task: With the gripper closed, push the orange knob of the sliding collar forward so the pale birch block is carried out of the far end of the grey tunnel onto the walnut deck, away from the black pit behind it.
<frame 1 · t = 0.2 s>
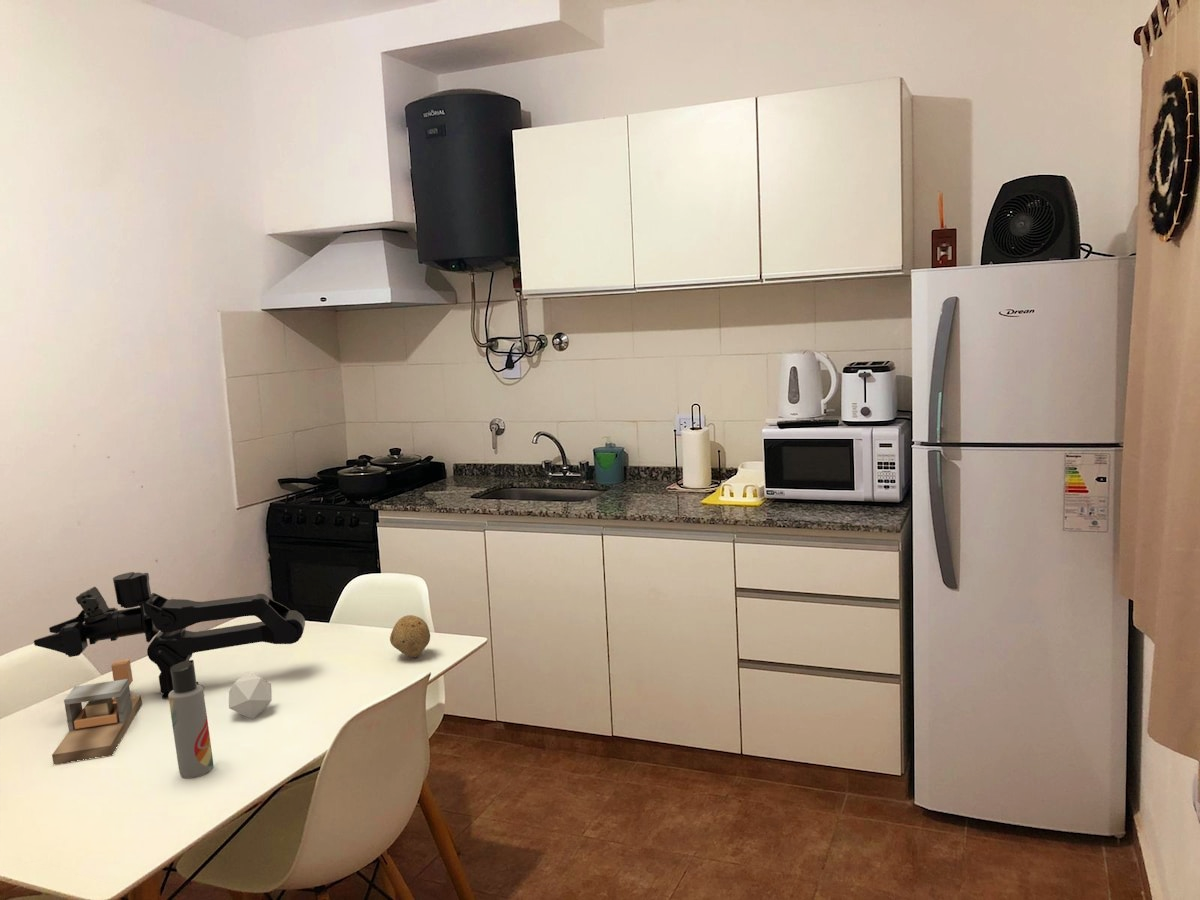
hand: (42, 636, 199), 16 cm above the table, tool horizontal, fingers open, 9 cm apart
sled: (109, 691, 197), point 5 cm above the table, slide at 0.0 cm
lotion bottle: (197, 771, 169), on the table
birch block: (101, 719, 189), point 2 cm above the table, touching tunnel
brown round lump: (412, 657, 218), on the table
tunnel: (103, 729, 189), on the table
die: (252, 714, 192), on the table
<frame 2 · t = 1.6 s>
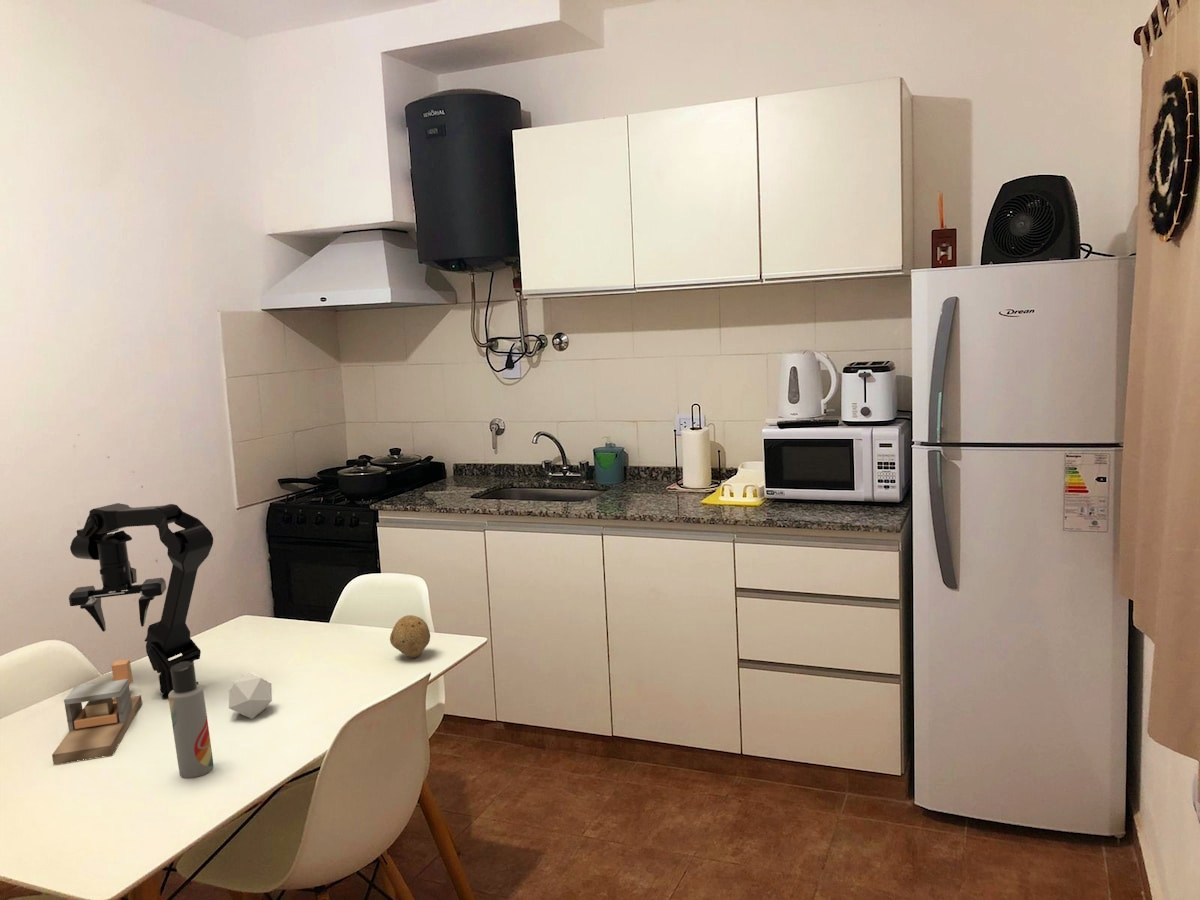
hand: (123, 628, 211), 13 cm above the table, tool pointing down, fingers open, 8 cm apart
nothing on the table moved.
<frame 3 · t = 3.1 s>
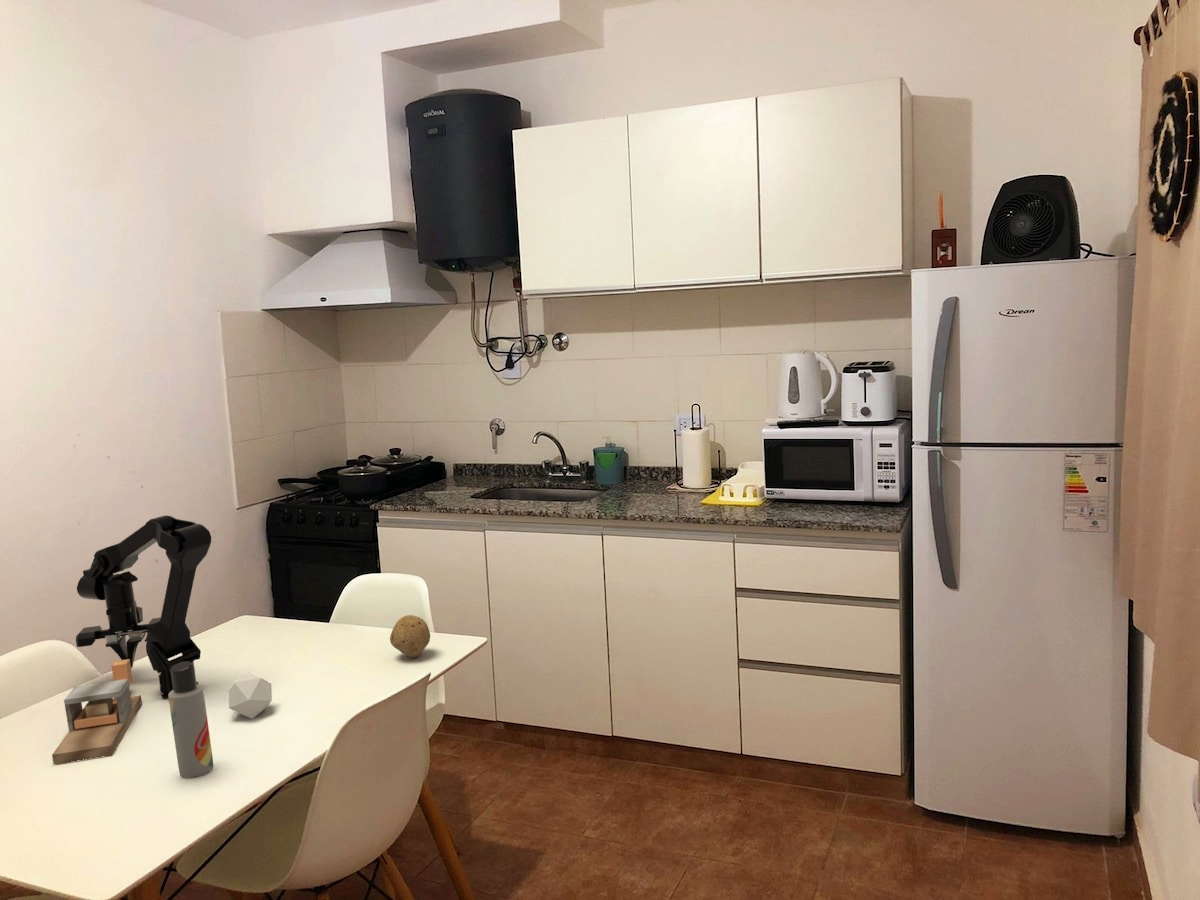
hand: (130, 667, 213), 4 cm above the table, tool pointing down, fingers closed
nothing on the table moved.
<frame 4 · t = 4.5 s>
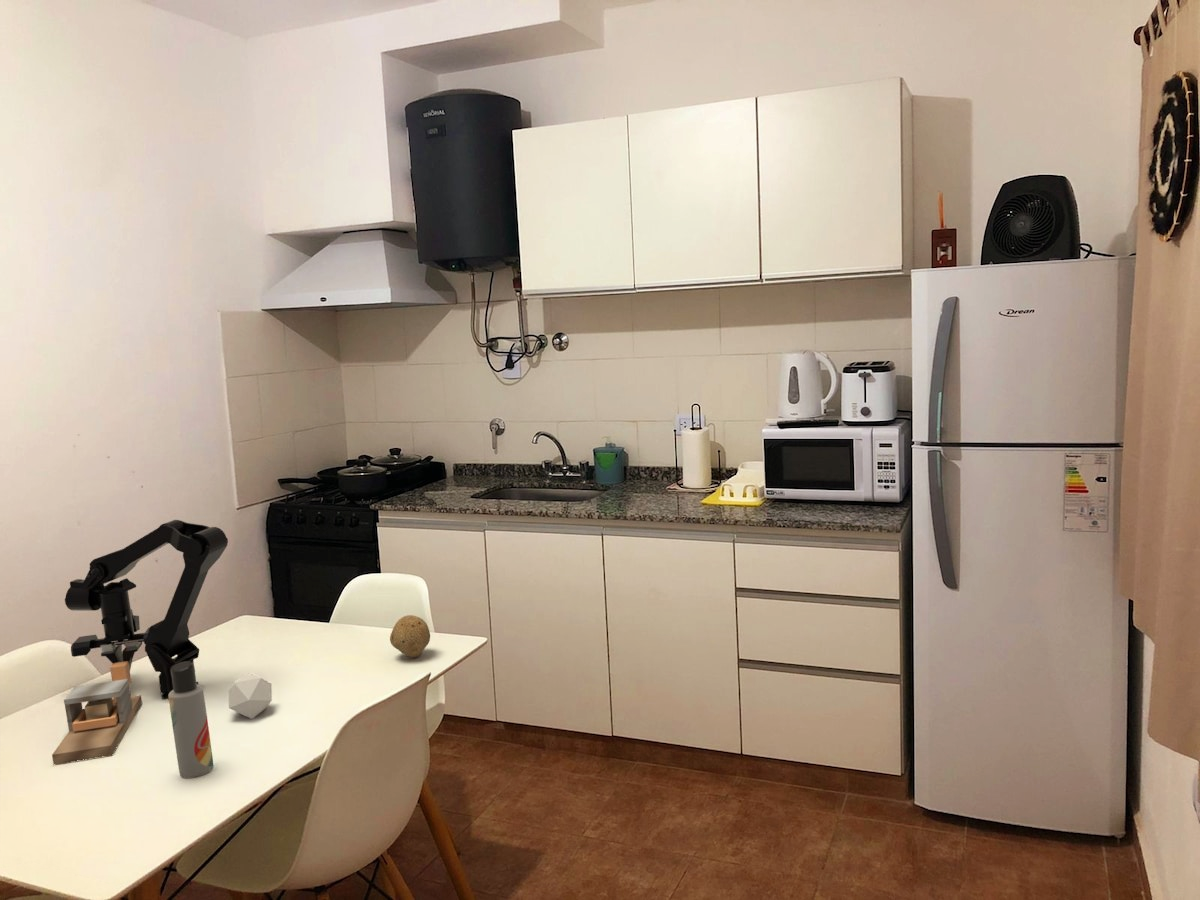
hand: (126, 677, 209), 3 cm above the table, tool pointing down, fingers closed
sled: (108, 693, 195), point 5 cm above the table, slide at 1.2 cm, touching gripper
everything else where it was.
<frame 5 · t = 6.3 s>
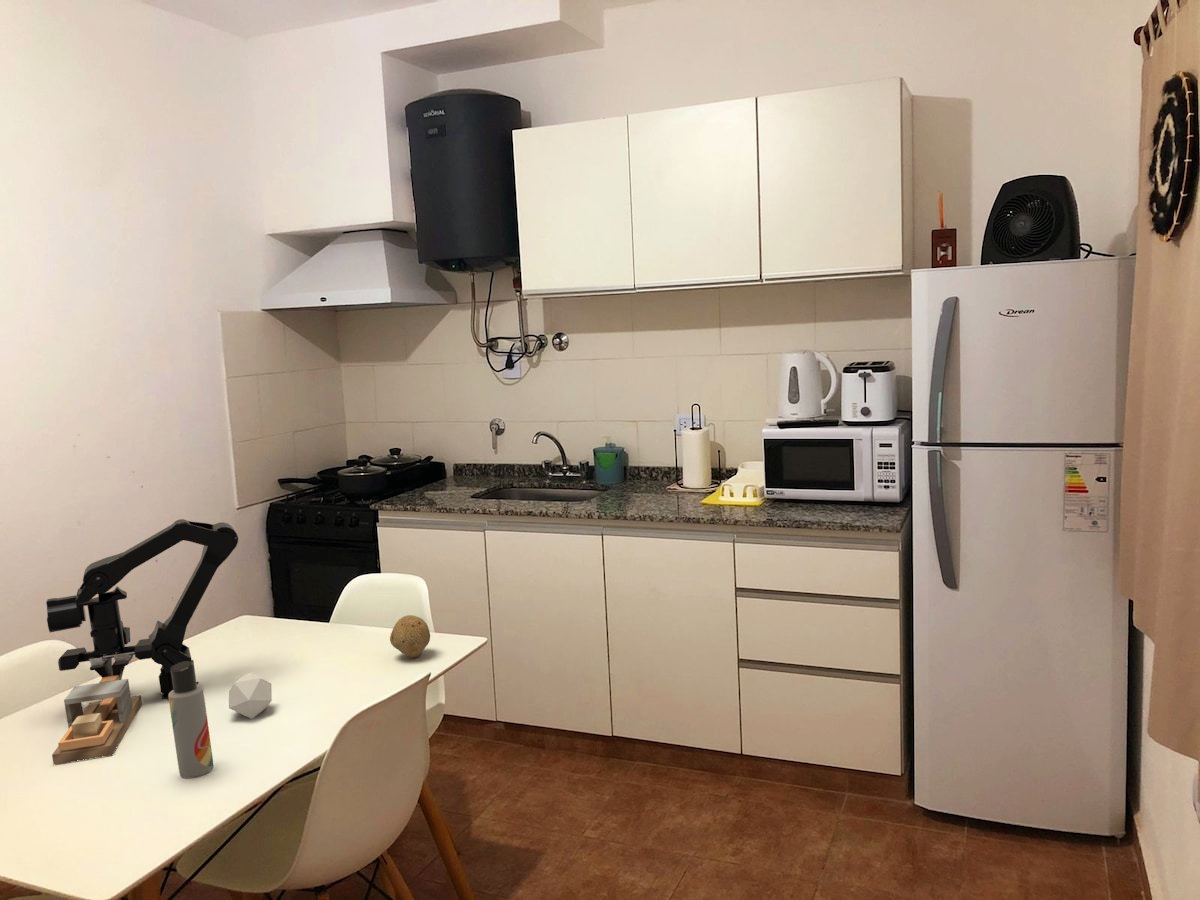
hand: (116, 692, 201), 3 cm above the table, tool pointing down, fingers closed, pressing on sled
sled: (97, 709, 187), point 5 cm above the table, slide at 9.8 cm, touching gripper
birch block: (89, 738, 181), point 2 cm above the table, touching tunnel
everything else where it was.
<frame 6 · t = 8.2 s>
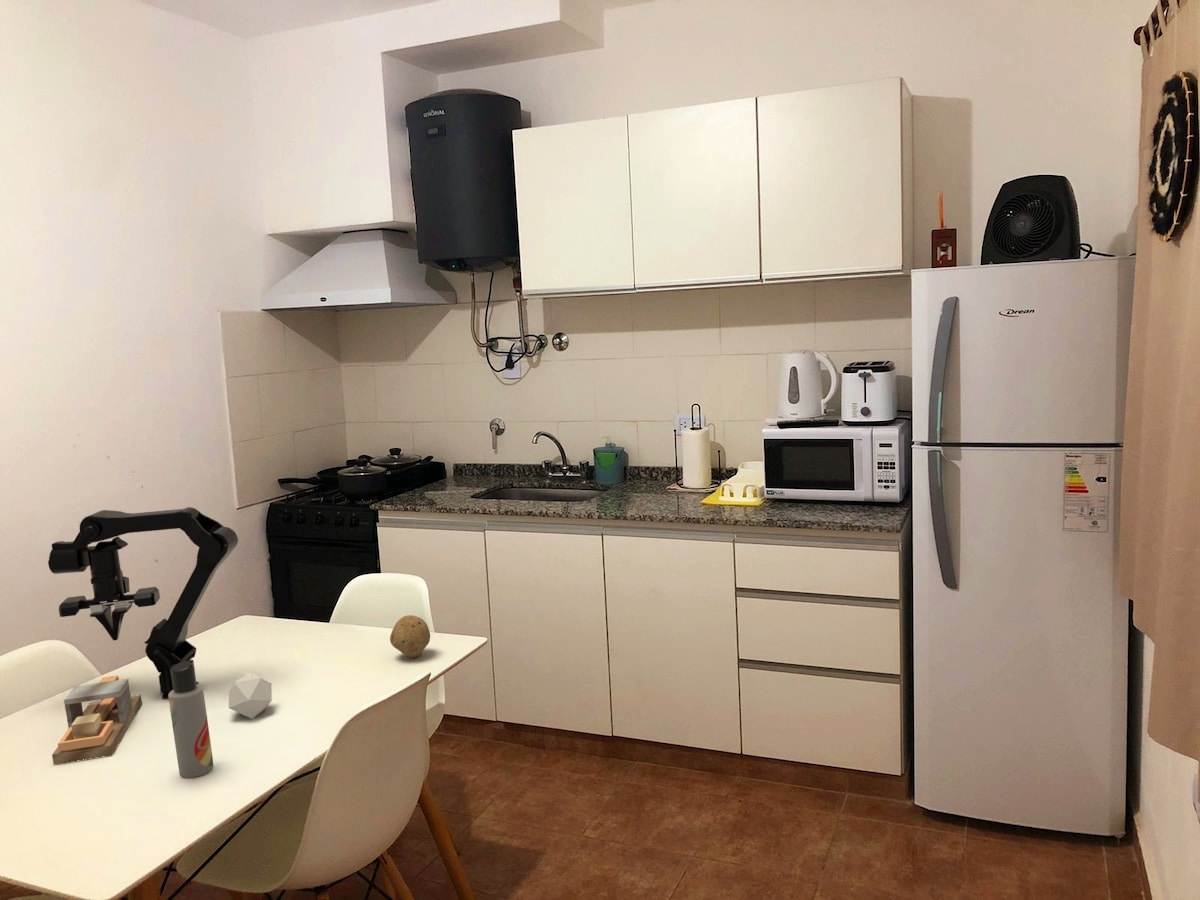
hand: (115, 639, 204), 13 cm above the table, tool pointing down, fingers closed
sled: (96, 710, 187), point 5 cm above the table, slide at 10.1 cm, touching birch block
birch block: (88, 738, 180), point 2 cm above the table, touching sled, tunnel
everything else where it was.
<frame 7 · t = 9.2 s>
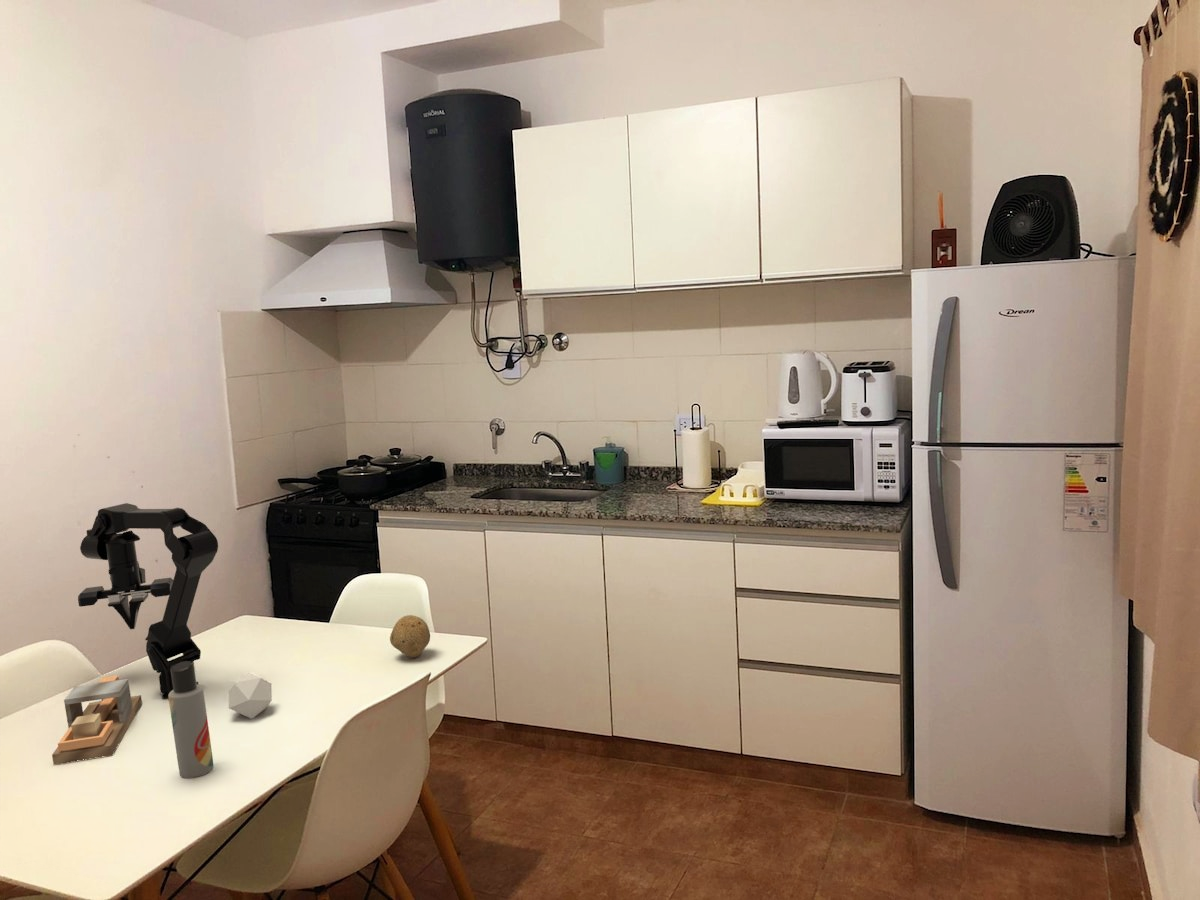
hand: (132, 628, 211), 13 cm above the table, tool pointing down, fingers closed
nothing on the table moved.
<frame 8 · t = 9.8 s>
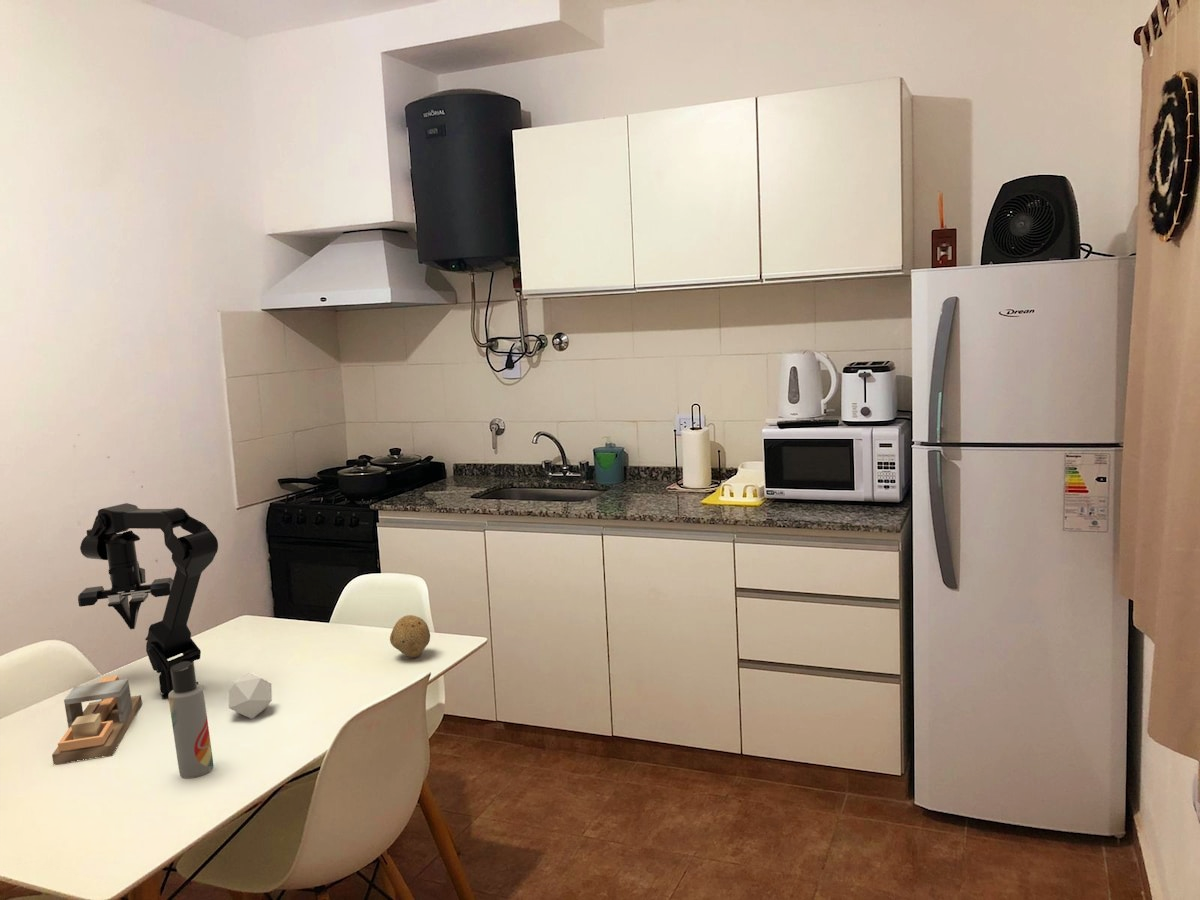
hand: (132, 628, 211), 13 cm above the table, tool pointing down, fingers closed
nothing on the table moved.
at the end: birch block 0.3 cm from the target spot on the tunnel, point 2.0 cm above the tunnel's base; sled slide at 10.1 cm; birch block tilted 0° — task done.
